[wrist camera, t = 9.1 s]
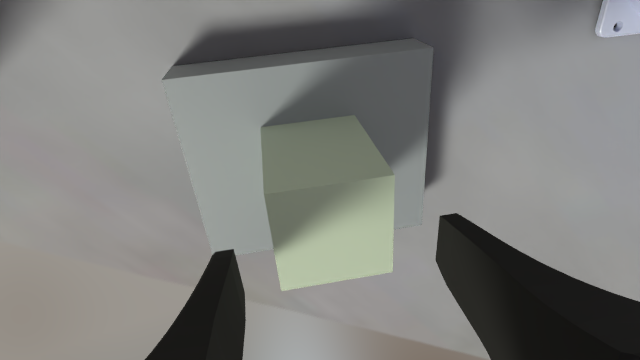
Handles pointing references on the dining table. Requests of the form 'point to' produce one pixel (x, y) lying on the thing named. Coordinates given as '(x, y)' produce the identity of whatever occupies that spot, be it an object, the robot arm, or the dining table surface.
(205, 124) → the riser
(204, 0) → the dining table surface
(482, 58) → the dining table surface
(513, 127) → the dining table surface
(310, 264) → the green block
